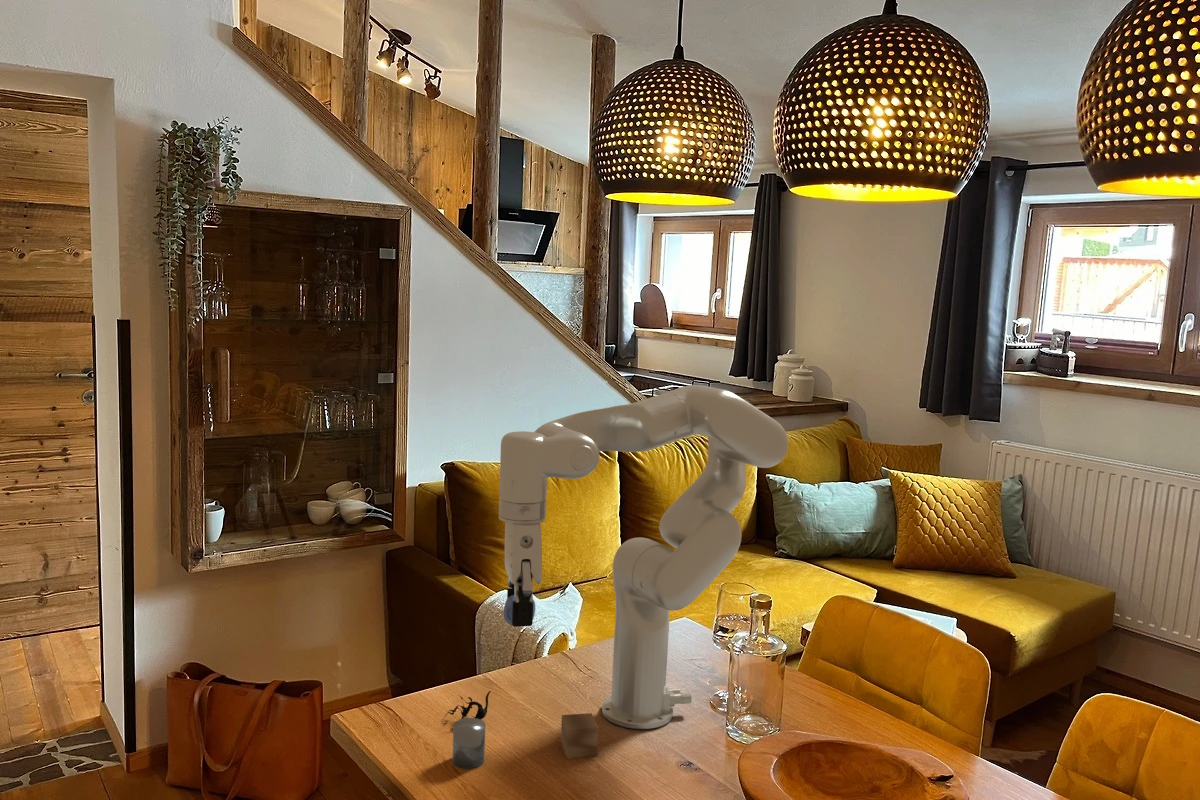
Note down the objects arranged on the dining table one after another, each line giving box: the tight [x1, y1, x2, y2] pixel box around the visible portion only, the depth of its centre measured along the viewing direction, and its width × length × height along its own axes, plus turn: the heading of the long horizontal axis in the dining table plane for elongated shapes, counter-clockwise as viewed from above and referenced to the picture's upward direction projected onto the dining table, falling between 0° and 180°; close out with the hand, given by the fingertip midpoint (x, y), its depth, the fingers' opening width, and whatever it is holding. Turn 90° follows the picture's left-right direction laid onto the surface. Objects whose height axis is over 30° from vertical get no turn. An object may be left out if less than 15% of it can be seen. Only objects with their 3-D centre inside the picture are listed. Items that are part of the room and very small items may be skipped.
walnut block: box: [560, 712, 599, 760], centre depth 153 cm, size 5×5×5 cm
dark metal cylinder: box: [451, 717, 486, 770], centre depth 148 cm, size 5×5×6 cm
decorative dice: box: [503, 595, 536, 627], centre depth 152 cm, size 4×4×4 cm
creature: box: [444, 690, 492, 731], centre depth 161 cm, size 8×5×8 cm
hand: (519, 617), depth 152 cm, fingers closed on decorative dice, 5 cm apart
